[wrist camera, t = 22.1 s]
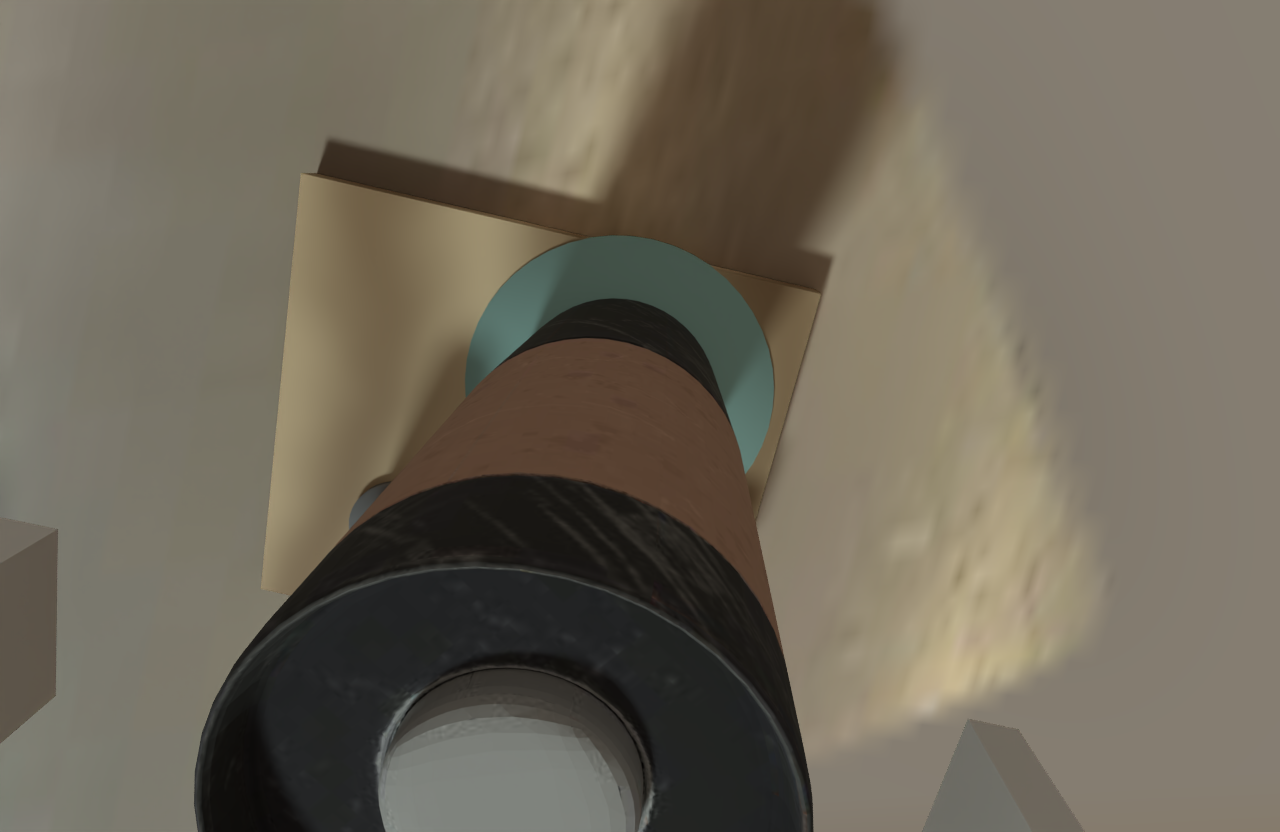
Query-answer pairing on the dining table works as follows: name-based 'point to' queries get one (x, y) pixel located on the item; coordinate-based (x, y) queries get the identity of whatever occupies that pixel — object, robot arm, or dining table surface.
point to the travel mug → (532, 622)
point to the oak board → (416, 350)
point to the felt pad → (649, 279)
